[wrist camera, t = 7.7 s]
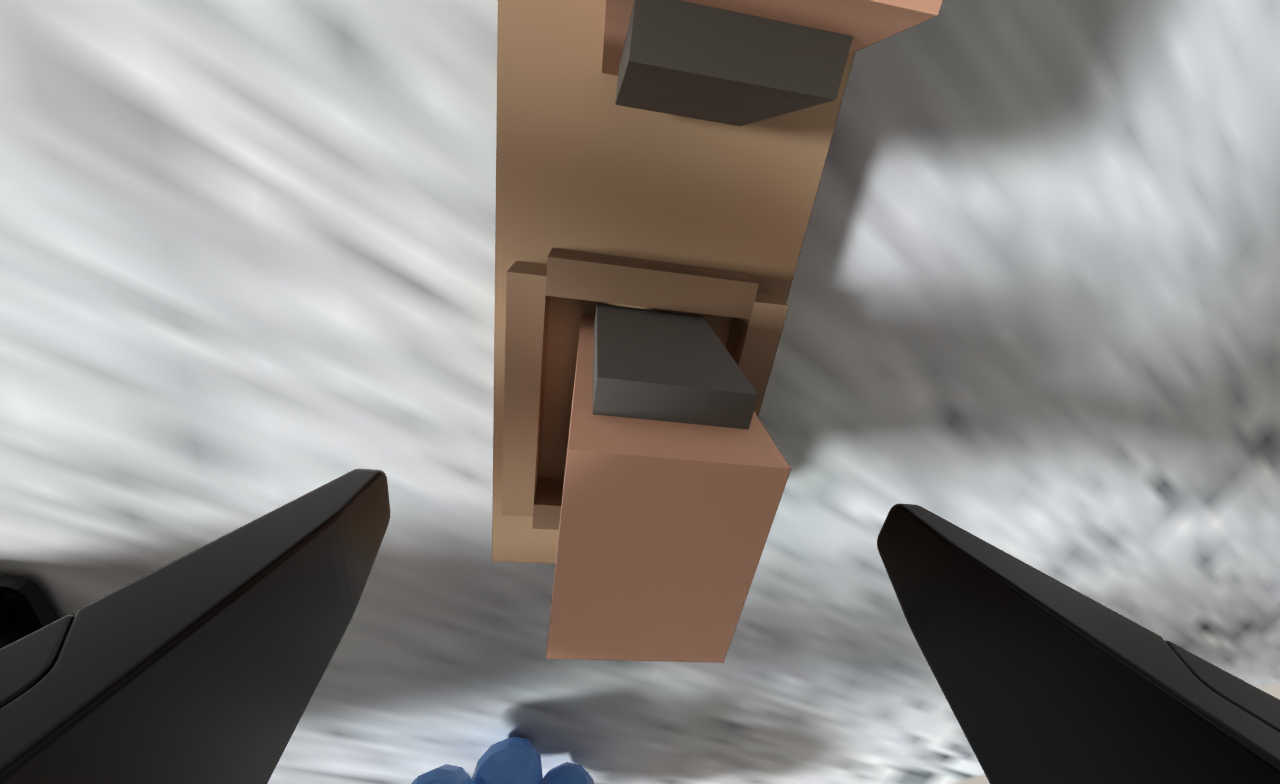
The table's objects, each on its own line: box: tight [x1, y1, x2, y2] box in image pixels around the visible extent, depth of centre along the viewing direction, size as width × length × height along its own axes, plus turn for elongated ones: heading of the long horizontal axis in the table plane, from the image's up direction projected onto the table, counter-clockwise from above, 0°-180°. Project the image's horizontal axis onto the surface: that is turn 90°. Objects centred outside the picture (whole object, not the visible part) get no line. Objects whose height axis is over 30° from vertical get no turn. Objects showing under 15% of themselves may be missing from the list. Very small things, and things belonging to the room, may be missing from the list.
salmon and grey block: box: [546, 303, 791, 663], centre depth 10 cm, size 5×3×6 cm, turn 171°
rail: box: [492, 0, 943, 564], centre depth 9 cm, size 20×7×8 cm, turn 172°
